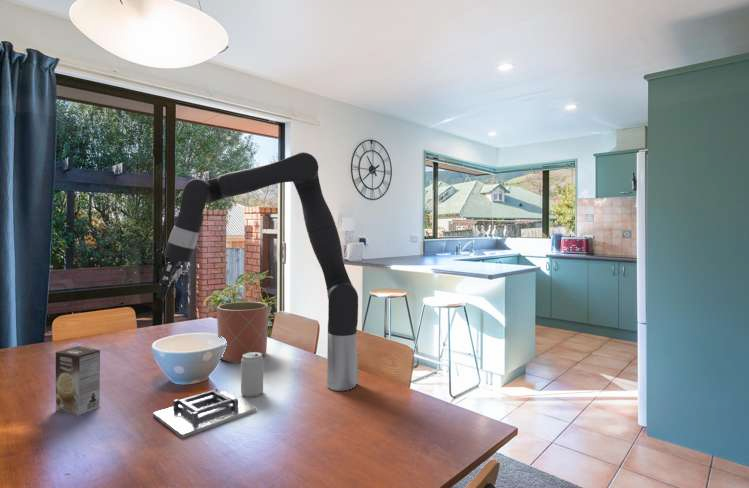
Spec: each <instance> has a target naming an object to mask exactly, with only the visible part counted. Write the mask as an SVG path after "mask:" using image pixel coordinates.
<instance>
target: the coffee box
mask: <svg viewBox="0 0 749 488" xmlns="http://www.w3.org/2000/svg"><path fill="white" fill-rule="evenodd" d="M100 386H101V349H95V348H90V347H84V346H80V345H77V346H74V347H69V348H65V349H63V350H59V351H56V352H55V411H57V412H61V413H65V414H69V415H73V416H78V417H79V416H81V414H82V415H84V414H86V412H87V413H88V412H89V413H90V411H93V409H94V410H96V409H99V408H100V407H101V406H100V405H101V403H100V401H101V398H100V397H101V396H100V395H101V387H100Z"/></svg>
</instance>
